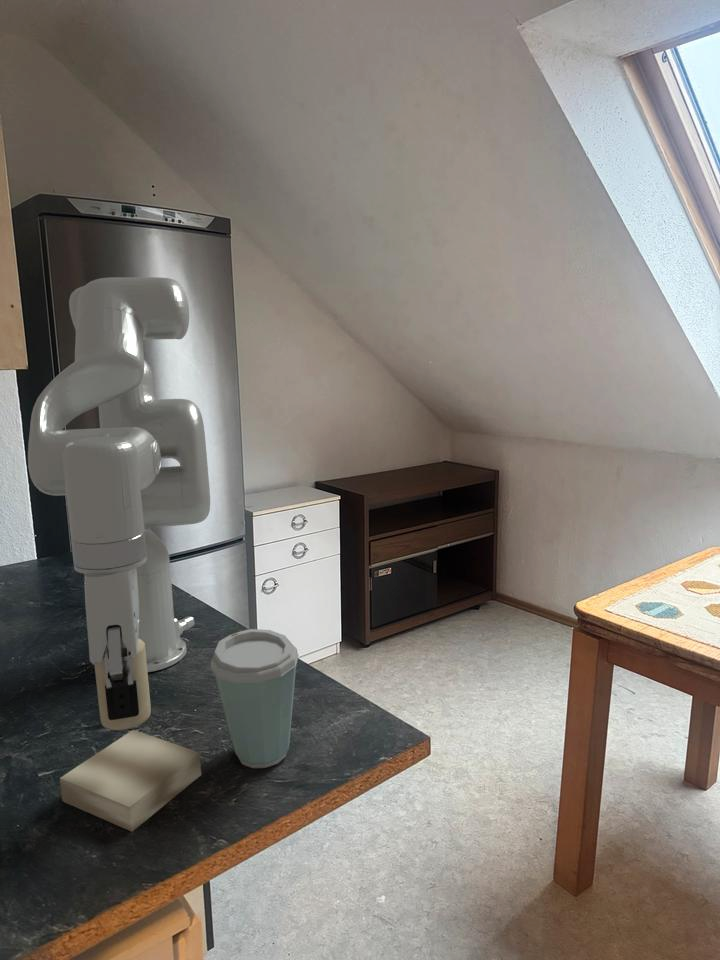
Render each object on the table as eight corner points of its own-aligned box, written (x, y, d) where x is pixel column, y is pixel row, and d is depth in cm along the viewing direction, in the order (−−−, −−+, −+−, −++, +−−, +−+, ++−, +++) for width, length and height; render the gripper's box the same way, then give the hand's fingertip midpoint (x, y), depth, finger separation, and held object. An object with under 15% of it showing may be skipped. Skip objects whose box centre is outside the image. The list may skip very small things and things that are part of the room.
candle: (161, 714, 80) (153, 633, 78) (118, 736, 76) (109, 651, 74) (133, 700, 83) (126, 622, 81) (91, 720, 79) (82, 638, 77)
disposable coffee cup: (320, 754, 87) (316, 643, 84) (249, 793, 80) (241, 673, 77) (270, 722, 95) (264, 619, 92) (201, 755, 88) (192, 644, 85)
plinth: (135, 750, 89) (133, 729, 88) (201, 774, 84) (199, 752, 83) (62, 801, 79) (59, 778, 79) (132, 831, 74) (129, 807, 74)
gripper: (80, 534, 83) (95, 674, 86) (63, 580, 67) (82, 750, 70) (146, 527, 85) (158, 665, 88) (145, 571, 69) (160, 737, 72)
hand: (124, 701), depth 79 cm, fingers closed on candle, 5 cm apart
